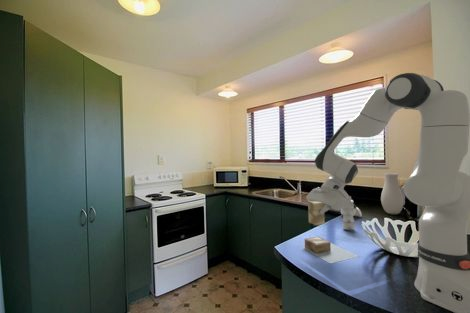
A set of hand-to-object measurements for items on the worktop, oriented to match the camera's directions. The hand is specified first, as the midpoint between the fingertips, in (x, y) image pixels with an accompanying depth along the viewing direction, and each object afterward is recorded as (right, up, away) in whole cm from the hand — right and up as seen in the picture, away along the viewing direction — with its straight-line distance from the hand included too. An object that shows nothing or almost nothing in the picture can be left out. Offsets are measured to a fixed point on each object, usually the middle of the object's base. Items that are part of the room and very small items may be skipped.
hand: (315, 212), depth 101 cm
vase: (+80, -17, +60) cm, 102 cm away
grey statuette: (+30, -18, +28) cm, 45 cm away
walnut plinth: (+1, -18, 0) cm, 18 cm away
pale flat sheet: (+5, -18, -3) cm, 19 cm away
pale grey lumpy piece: (+47, -18, +56) cm, 75 cm away
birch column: (+1, -5, 0) cm, 5 cm away
